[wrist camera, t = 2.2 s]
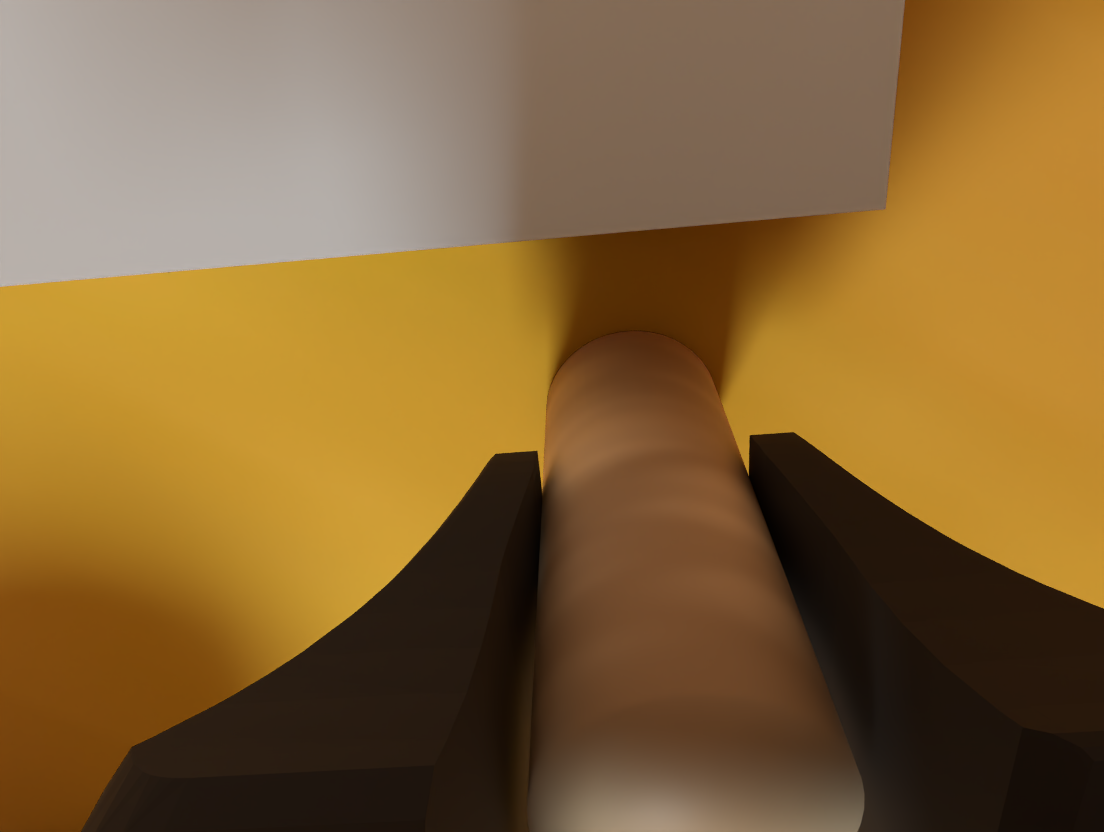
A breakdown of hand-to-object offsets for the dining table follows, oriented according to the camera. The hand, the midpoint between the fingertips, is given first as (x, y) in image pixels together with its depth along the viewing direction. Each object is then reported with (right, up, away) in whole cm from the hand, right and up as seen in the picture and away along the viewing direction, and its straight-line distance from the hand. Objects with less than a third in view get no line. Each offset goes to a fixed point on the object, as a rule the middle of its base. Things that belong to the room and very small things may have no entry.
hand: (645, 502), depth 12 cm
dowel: (0, +1, +3) cm, 3 cm away
